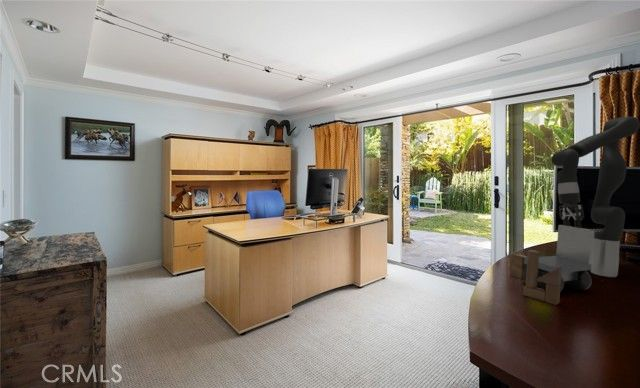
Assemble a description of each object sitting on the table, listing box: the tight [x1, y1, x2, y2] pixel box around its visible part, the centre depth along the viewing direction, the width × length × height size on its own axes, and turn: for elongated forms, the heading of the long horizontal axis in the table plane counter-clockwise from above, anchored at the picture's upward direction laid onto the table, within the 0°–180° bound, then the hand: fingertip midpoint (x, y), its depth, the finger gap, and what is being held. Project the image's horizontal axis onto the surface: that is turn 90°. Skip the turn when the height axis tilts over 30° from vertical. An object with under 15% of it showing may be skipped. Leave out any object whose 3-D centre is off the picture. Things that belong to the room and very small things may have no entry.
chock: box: [511, 253, 528, 280], centre depth 139 cm, size 4×5×10 cm
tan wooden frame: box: [522, 249, 562, 306], centre depth 114 cm, size 4×11×18 cm, turn 36°
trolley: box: [523, 224, 595, 293], centre depth 126 cm, size 20×16×25 cm
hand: (572, 228), depth 137 cm, fingers open, 8 cm apart
